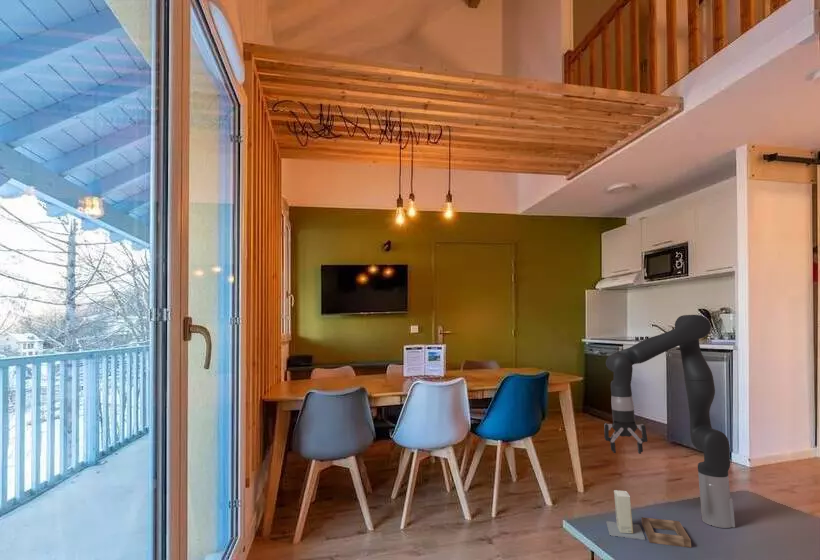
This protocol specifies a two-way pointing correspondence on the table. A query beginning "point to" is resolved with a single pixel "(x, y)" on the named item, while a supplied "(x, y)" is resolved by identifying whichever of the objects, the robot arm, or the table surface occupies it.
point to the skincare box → (623, 511)
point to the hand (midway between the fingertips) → (626, 452)
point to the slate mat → (615, 532)
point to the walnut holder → (666, 539)
